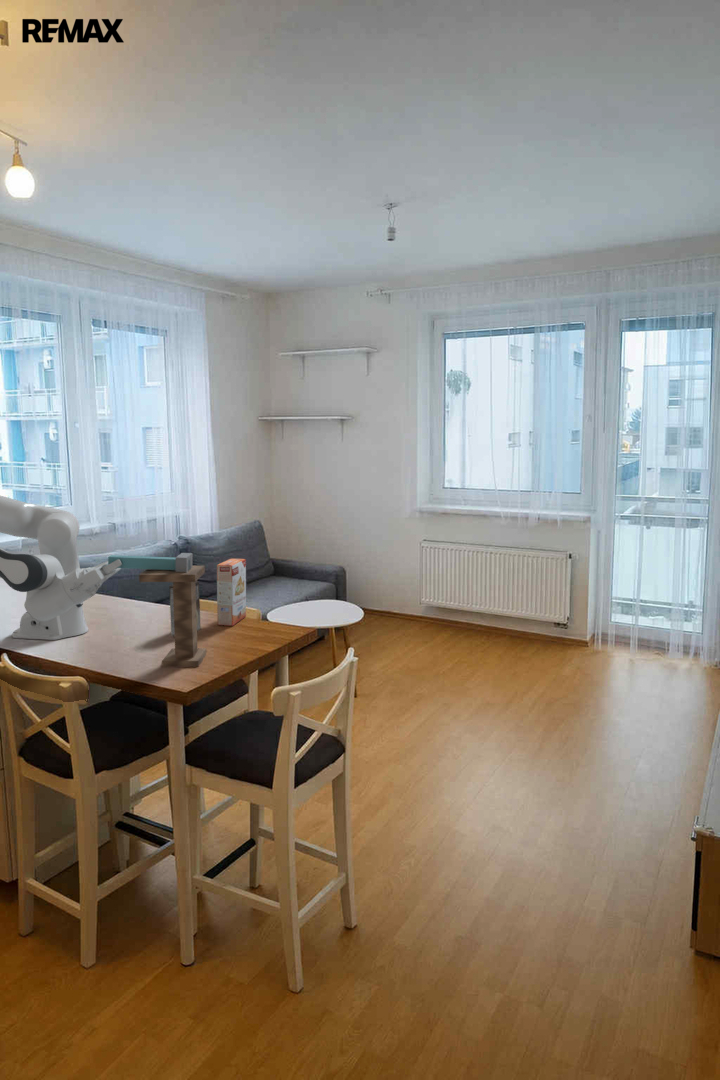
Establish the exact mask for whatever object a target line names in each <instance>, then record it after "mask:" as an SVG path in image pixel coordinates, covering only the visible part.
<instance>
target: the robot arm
mask: <svg viewBox="0 0 720 1080" xmlns="http://www.w3.org/2000/svg"><path fill="white" fill-rule="evenodd" d="M0 533H1V534H5V535H9V536H12V537H18V538H24V539H25V538H26V539H33V540H38V548H39V553H38V554H29V553H28V554H27V553H11V552H9V551H7V550H5V549H3V548H1V547H0V578H1V579H2V580H3V581H4V582H5V583H6V584H7V585H8V586H9V587H10V588H11V589H12V590H14V591H17V592H20V593H26V596H25V601H24V609H25V611H26V612H24V613H23V615H22V616H21V618H20V621H19V627H18V628H17V629H15V630H14V631H12V638H14V639H29V640H30V639H31V640H45V641H46V640H49V641H54V640H55V641H56V640H61V639H65V638H70V637H75V636H79V635H83V634H85V633H87V632H88V631H89V627H88V624H87V621H86V618H85V614H84V608H83V605H84V602H85V601H87V600H89V599H91V598H93V597H94V596H95V595H96V594H97V592H98V590H99V589H100V588H101V587H102V586H103V585H102V584H104V582H106V581H107V580H108V579H109V578H112V577H113V576H114V575H116V573H118V572H119V571H120V570H121V569H122V568H117V567H119V566H121V565H122V564H123V562H122V560H121V559H118V560H116V561H114V562H113V563H110V564H108V560H107V561H104V562H102V563H99V564H96V565H95V566H92V567H91V566H89V567H86V568H85V567H84V568H81V566H80V559H79V553H78V552H79V551H78V543H77V536H78V535H79V533H80V524H79V520H78V518H77V517H76V516H75V515H74V514H73V513H71V512H70V511H66V510H63V509H57V508H54V507H49V506H45V505H41V504H34V503H31V502H30V503H29V502H26V501H21V500H19V499H14V498H11V497H8V496H7V497H6V496H3V495H0Z"/></svg>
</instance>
